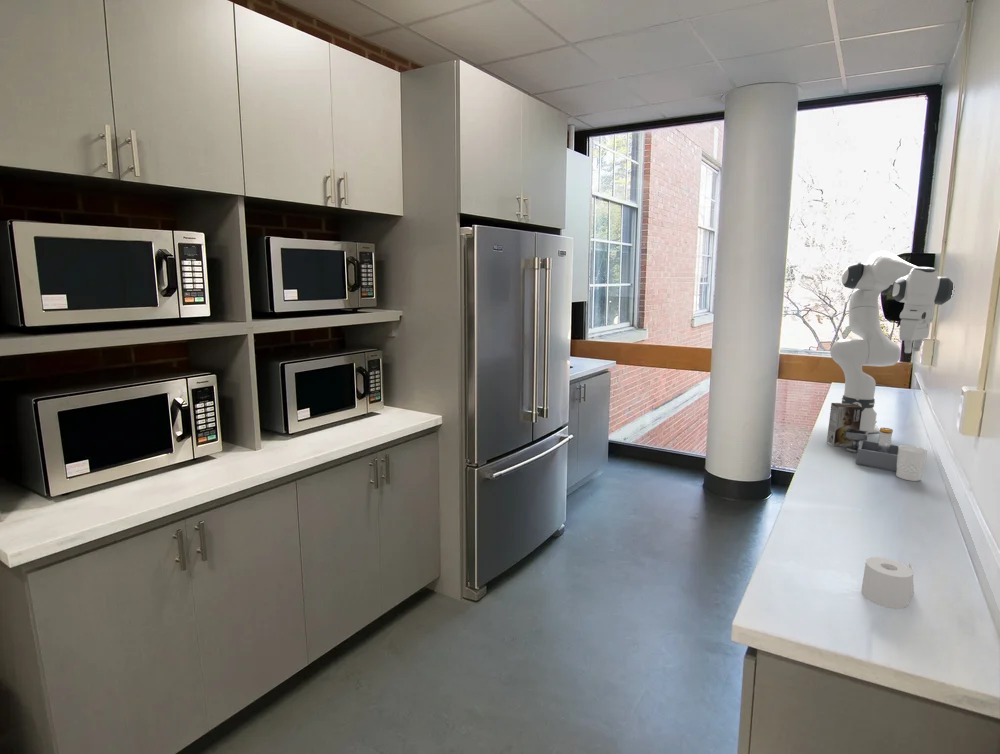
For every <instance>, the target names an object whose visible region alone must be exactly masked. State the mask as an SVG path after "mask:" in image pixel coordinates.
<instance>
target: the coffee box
mask: <svg viewBox="0 0 1000 754" xmlns="http://www.w3.org/2000/svg"><path fill="white" fill-rule="evenodd" d="M861 414H862V407H860V406H859V405H857V404H851V403H842V402H831V404H830V413H829V419H828V420H829V421H828V422H829V423H828V431H827V435H826V442H827V443H828V444H830V445H831V446H832V447H847V446H852V439H848V438H847V437H846V431H847V429H848V428H849V429H856V430H860V422H861Z"/></svg>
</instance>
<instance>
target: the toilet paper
mask: <svg viewBox="0 0 1000 754" xmlns="http://www.w3.org/2000/svg"><path fill="white" fill-rule="evenodd" d="M864 564H865V565H864V570H863V577H862V584H861V591H860V593H861V595H862V596H863V597H864V598H865V599H866V600H867V601H869V602H871V603H872V604H875V605H877V606H880V607H884V608H887V609H894V610H898V609H899V610H902V609H905V608H907V607H908V606H909V603H910V602H911V599H912V597H913V595H914V594H915V593H914V592H915V590H914V589H915V588H914V586H915V585H914V572H915V569H914V567H913V564H911V562H910V561H908V566H907V565H906V564H904V563H902V562H901V561H897V560H894V559H891V558H886V557H882V556H881V557H879V556H871V557H868V558H867V559H865V563H864Z"/></svg>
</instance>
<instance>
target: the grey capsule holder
mask: <svg viewBox="0 0 1000 754" xmlns="http://www.w3.org/2000/svg"><path fill="white" fill-rule="evenodd" d="M868 432H869V431H862V430H856V429H849V428H848V429H847V431H846V437H847V438H848V439H852V446H845V451H846V452H848V453H852V454H857V453H858V448H859V445H860V442H861V440H865V441H868V437H869V433H868Z"/></svg>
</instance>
